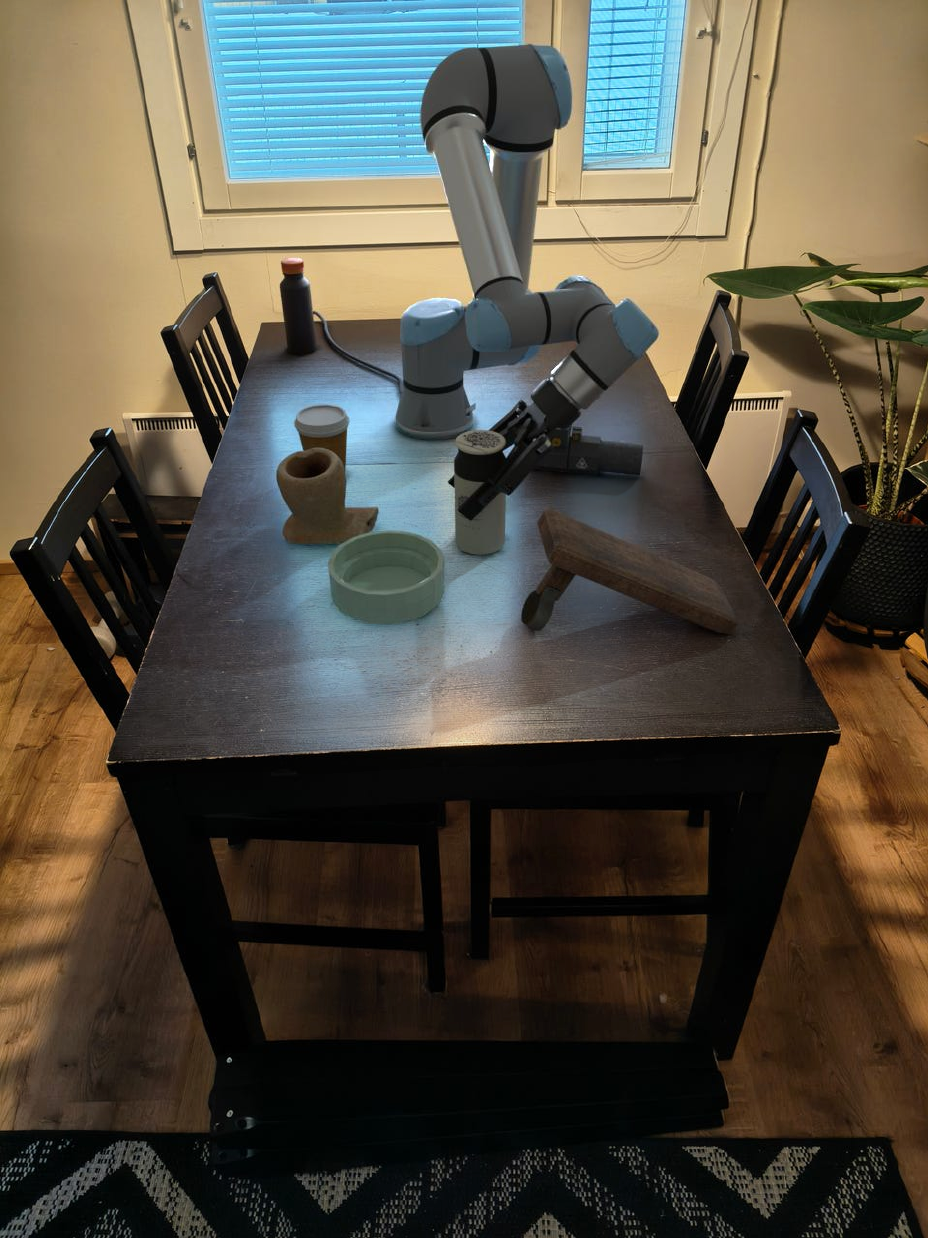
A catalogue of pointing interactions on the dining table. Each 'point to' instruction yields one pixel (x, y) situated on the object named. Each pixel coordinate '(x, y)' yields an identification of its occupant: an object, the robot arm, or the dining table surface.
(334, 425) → the disposable coffee cup
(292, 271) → the water bottle
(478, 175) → the robot arm
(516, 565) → the dining table surface
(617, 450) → the laser sight
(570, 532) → the dark brown angled bar
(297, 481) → the stone cup
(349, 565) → the bowl
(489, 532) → the travel mug
